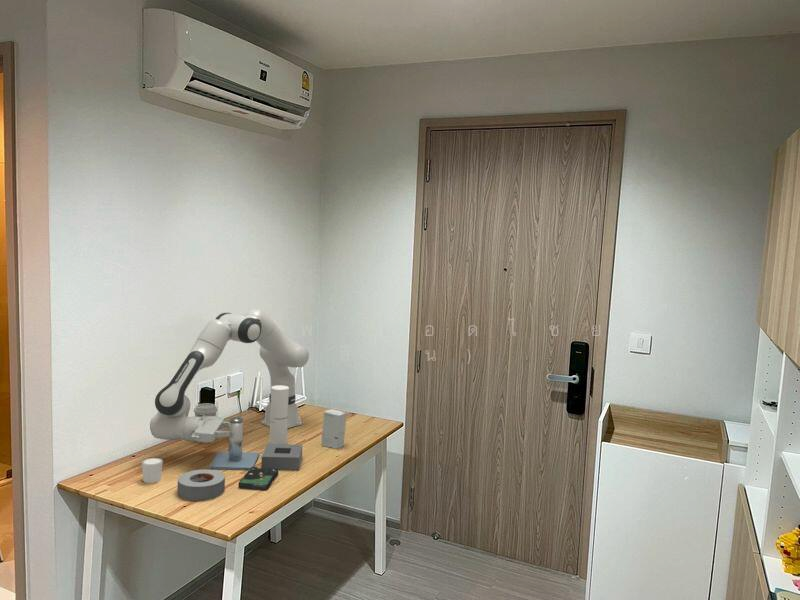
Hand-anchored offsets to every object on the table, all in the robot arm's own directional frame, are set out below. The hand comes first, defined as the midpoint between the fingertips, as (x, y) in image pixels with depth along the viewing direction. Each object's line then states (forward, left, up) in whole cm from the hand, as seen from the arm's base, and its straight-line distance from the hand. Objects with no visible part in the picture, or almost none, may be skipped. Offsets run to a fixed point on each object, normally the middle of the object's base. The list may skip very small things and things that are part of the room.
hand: (231, 429), depth 229 cm
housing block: (0, +20, -13) cm, 23 cm away
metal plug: (0, +2, -12) cm, 12 cm away
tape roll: (+27, -4, -13) cm, 30 cm away
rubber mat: (0, +2, -13) cm, 13 cm away
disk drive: (+17, +13, -13) cm, 26 cm away
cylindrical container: (-19, +16, -13) cm, 28 cm away
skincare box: (-21, +39, -13) cm, 46 cm away
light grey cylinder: (+19, -23, -13) cm, 33 cm away
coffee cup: (-23, -15, -13) cm, 31 cm away
